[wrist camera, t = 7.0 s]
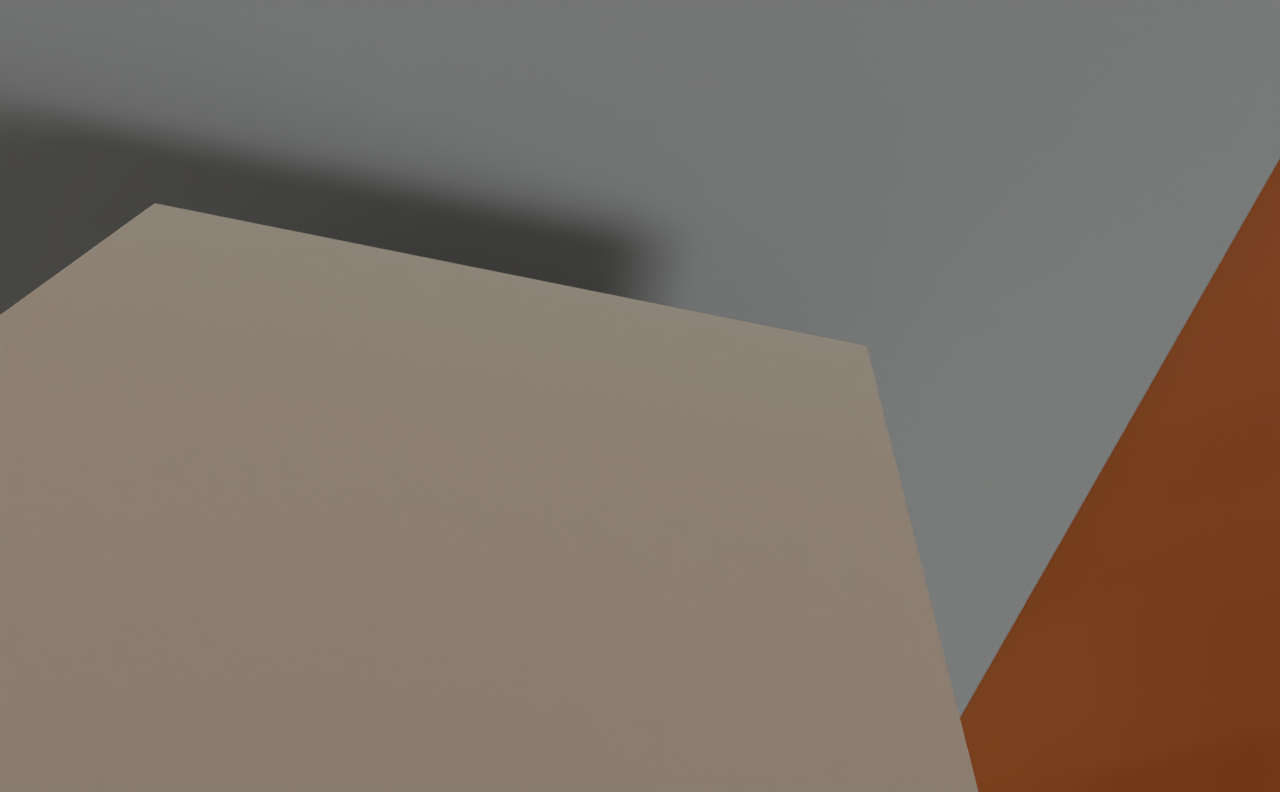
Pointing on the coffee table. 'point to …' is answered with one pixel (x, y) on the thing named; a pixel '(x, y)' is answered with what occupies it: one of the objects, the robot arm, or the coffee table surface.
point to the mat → (720, 191)
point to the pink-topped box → (443, 536)
